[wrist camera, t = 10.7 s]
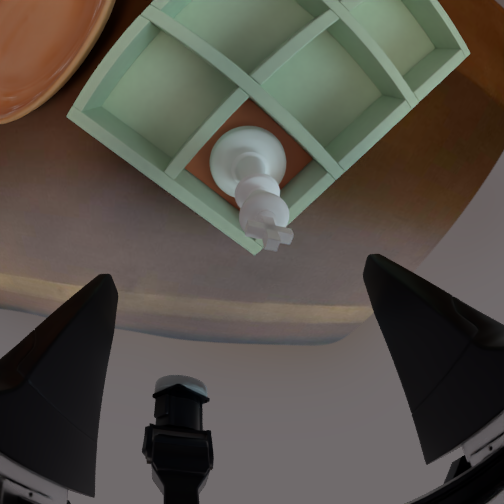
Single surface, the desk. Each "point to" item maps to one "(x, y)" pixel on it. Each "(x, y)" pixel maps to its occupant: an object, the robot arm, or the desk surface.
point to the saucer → (44, 48)
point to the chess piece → (254, 182)
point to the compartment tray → (263, 89)
